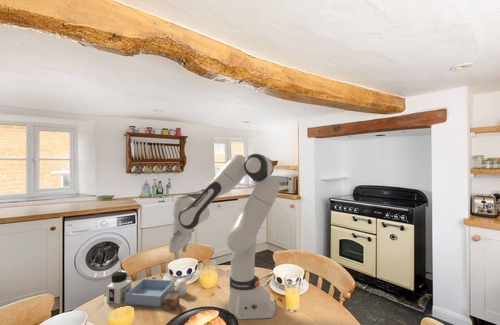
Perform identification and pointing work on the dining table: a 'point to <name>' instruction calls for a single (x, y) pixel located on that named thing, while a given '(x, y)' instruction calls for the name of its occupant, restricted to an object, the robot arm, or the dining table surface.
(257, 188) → the robot arm
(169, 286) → the tote
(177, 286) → the cream cylinder
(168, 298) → the walnut cube
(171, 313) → the dining table surface
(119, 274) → the container
